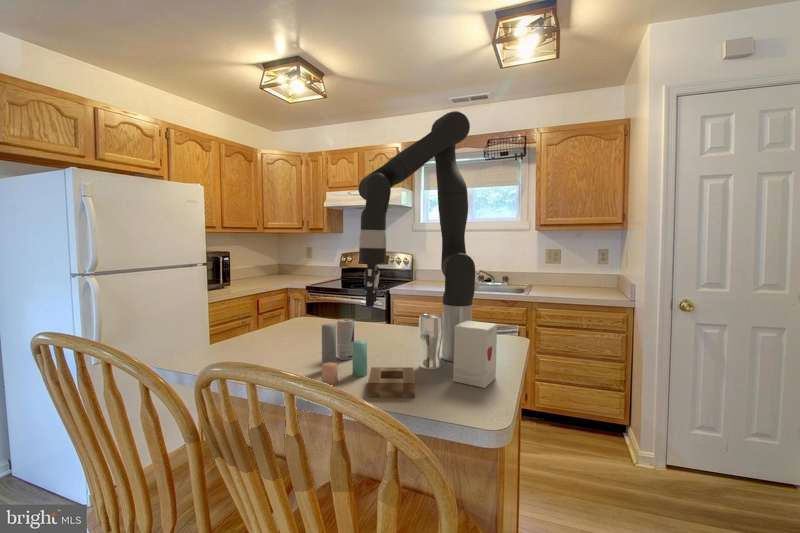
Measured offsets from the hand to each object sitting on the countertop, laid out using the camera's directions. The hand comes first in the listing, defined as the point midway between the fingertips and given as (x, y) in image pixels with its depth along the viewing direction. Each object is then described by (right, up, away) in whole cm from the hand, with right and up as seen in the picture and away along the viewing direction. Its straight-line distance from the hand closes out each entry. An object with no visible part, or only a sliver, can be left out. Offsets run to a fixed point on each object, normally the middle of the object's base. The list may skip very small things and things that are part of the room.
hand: (371, 304), depth 107 cm
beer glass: (+17, -19, +4) cm, 26 cm away
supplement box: (+28, -20, -6) cm, 35 cm away
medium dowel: (-3, -19, -3) cm, 20 cm away
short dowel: (-10, -20, -10) cm, 24 cm away
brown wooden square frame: (+6, -20, -13) cm, 24 cm away
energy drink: (-9, -18, +12) cm, 24 cm away
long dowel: (-12, -19, 0) cm, 22 cm away
